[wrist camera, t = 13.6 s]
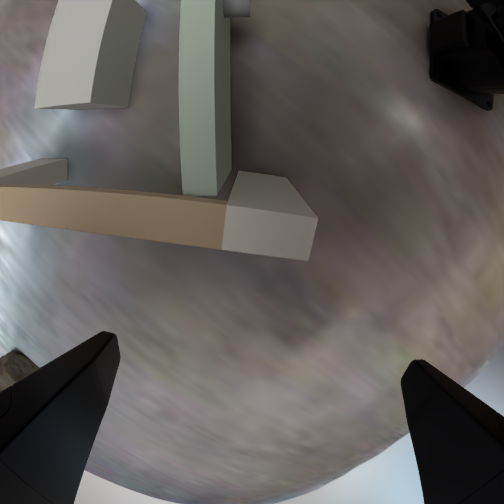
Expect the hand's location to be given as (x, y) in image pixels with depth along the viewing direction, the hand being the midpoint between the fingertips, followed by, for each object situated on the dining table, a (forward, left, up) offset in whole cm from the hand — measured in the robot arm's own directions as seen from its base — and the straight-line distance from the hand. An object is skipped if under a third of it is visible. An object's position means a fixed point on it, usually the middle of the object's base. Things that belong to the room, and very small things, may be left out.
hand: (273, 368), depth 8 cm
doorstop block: (+11, -11, -12) cm, 20 cm away
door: (+3, -9, -12) cm, 15 cm away
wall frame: (+8, -3, -12) cm, 15 cm away
